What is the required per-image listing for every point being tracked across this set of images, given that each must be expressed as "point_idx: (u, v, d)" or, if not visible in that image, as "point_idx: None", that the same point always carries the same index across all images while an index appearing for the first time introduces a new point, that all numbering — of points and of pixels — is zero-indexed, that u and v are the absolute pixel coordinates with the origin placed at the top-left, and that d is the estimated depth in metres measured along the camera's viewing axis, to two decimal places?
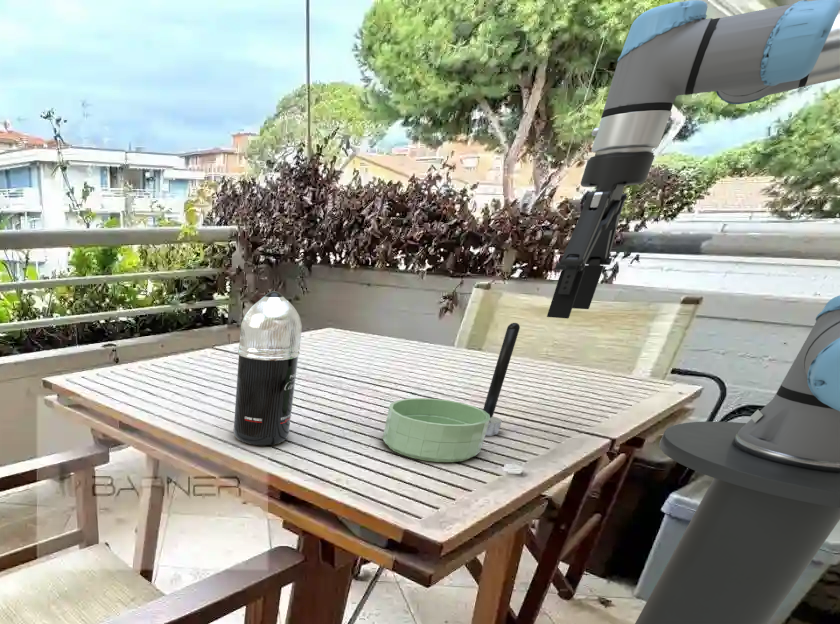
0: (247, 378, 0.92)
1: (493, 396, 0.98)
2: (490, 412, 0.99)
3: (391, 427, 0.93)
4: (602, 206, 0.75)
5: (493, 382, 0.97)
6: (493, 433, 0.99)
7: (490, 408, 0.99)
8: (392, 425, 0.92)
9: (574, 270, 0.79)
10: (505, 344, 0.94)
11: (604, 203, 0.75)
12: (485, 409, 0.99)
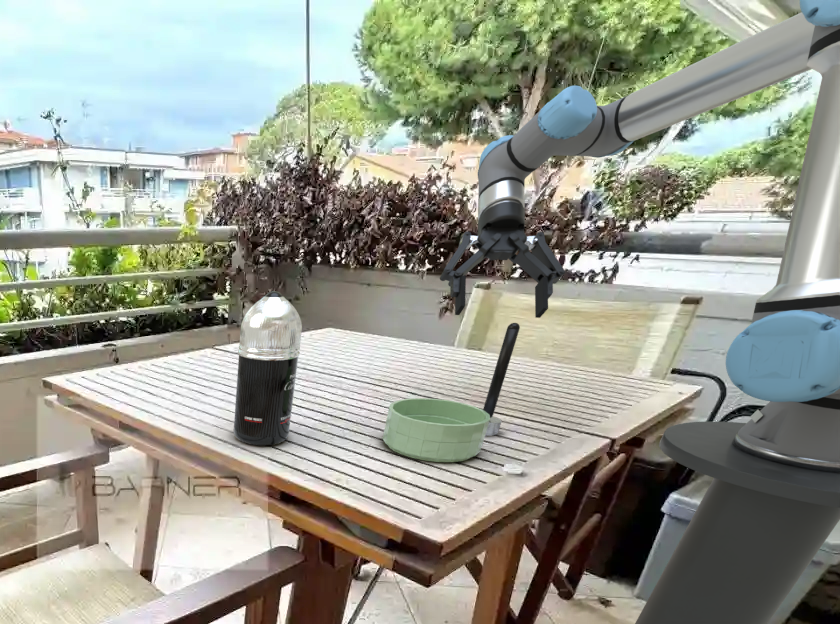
0: (247, 378, 0.92)
1: (493, 396, 0.98)
2: (490, 412, 0.99)
3: (391, 427, 0.93)
4: (462, 240, 1.04)
5: (493, 382, 0.97)
6: (493, 433, 0.99)
7: (490, 408, 0.99)
8: (392, 425, 0.92)
9: (452, 278, 1.03)
10: (505, 344, 0.94)
11: (463, 238, 1.04)
12: (485, 409, 0.99)
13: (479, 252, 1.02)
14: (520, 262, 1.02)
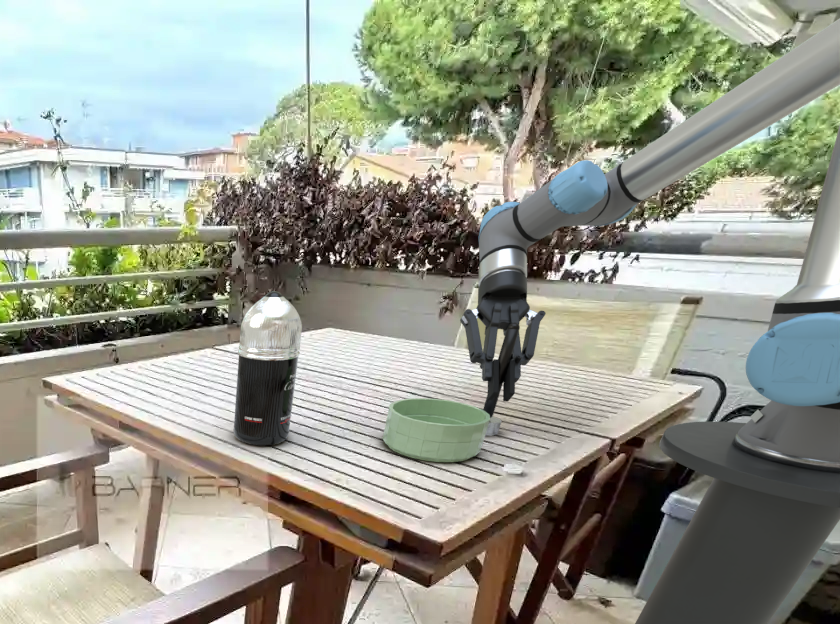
0: (247, 378, 0.92)
1: None
2: (490, 412, 0.99)
3: (391, 427, 0.93)
4: (468, 319, 0.99)
5: None
6: (493, 433, 0.99)
7: (490, 408, 0.99)
8: (392, 425, 0.92)
9: (483, 361, 0.97)
10: (505, 344, 0.94)
11: (467, 317, 0.99)
12: (485, 409, 0.99)
13: (493, 328, 0.97)
14: None
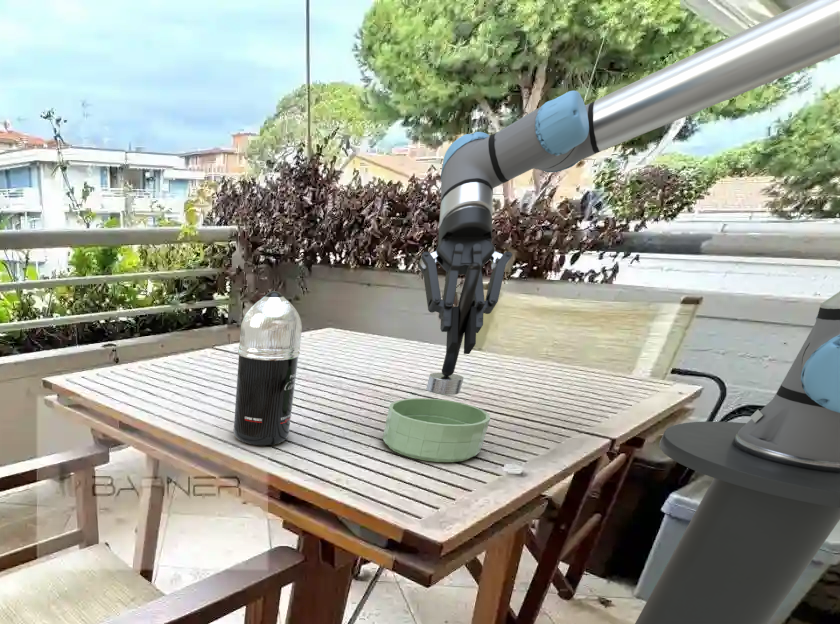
0: (247, 378, 0.92)
1: None
2: (451, 368, 0.88)
3: (391, 427, 0.93)
4: (426, 263, 0.87)
5: None
6: (454, 392, 0.88)
7: (450, 363, 0.87)
8: (392, 425, 0.92)
9: (442, 309, 0.85)
10: (465, 288, 0.82)
11: (425, 260, 0.87)
12: (445, 365, 0.88)
13: (453, 271, 0.86)
14: None
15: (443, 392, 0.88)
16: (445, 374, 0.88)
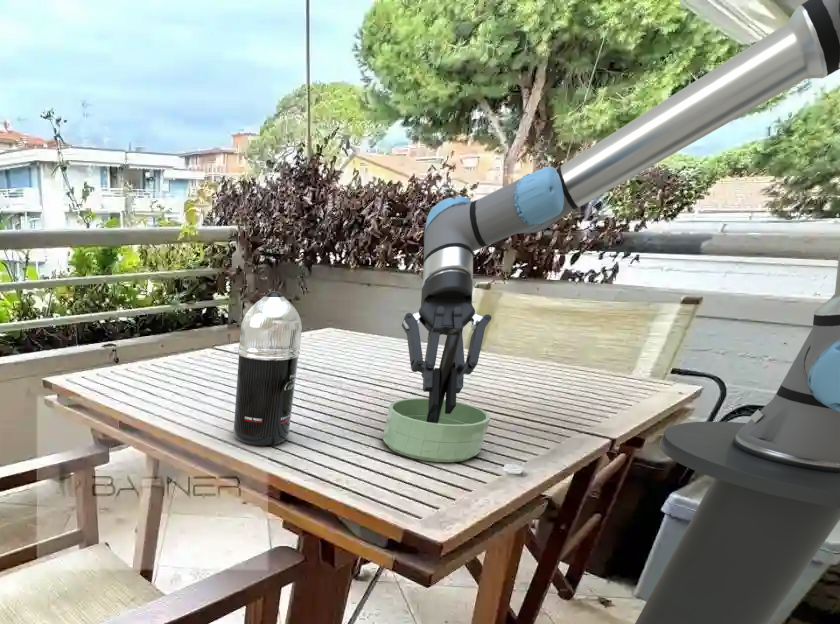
0: (247, 378, 0.92)
1: None
2: None
3: (391, 427, 0.93)
4: (408, 324, 0.91)
5: None
6: None
7: (433, 421, 0.91)
8: (392, 425, 0.92)
9: (424, 370, 0.88)
10: (445, 352, 0.86)
11: (408, 322, 0.91)
12: None
13: (434, 333, 0.89)
14: None
15: None
16: None
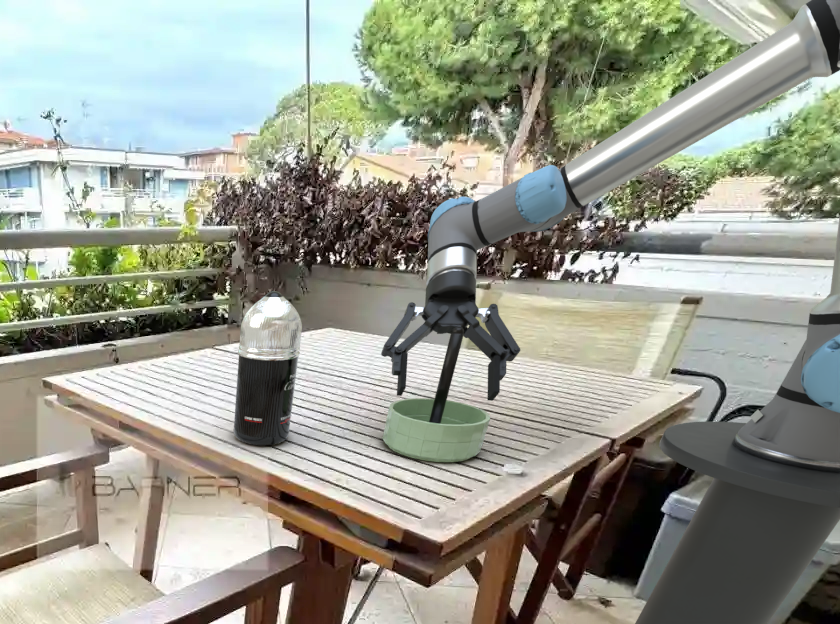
0: (247, 378, 0.92)
1: (439, 405, 0.91)
2: (437, 422, 0.92)
3: (391, 427, 0.93)
4: (406, 312, 0.93)
5: (438, 390, 0.90)
6: None
7: (436, 418, 0.92)
8: (392, 425, 0.92)
9: (393, 354, 0.91)
10: (449, 350, 0.87)
11: (407, 310, 0.93)
12: (431, 419, 0.92)
13: (424, 326, 0.91)
14: (471, 336, 0.91)
15: None
16: None
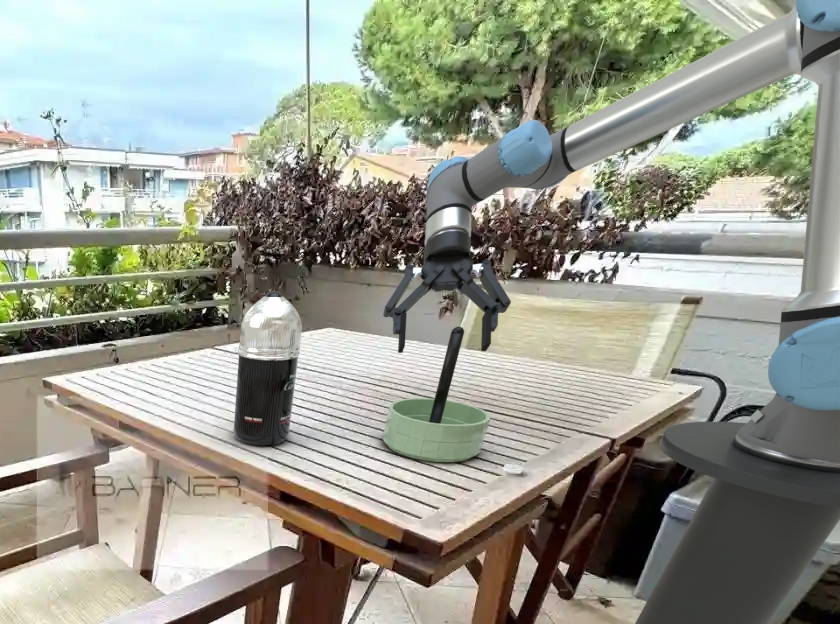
0: (247, 378, 0.92)
1: (439, 405, 0.91)
2: (437, 422, 0.92)
3: (391, 427, 0.93)
4: (405, 274, 1.01)
5: (438, 390, 0.90)
6: None
7: (436, 418, 0.92)
8: (392, 425, 0.92)
9: (393, 315, 1.01)
10: (449, 350, 0.87)
11: (406, 271, 1.01)
12: (431, 419, 0.92)
13: (421, 286, 1.00)
14: (466, 292, 0.99)
15: None
16: None
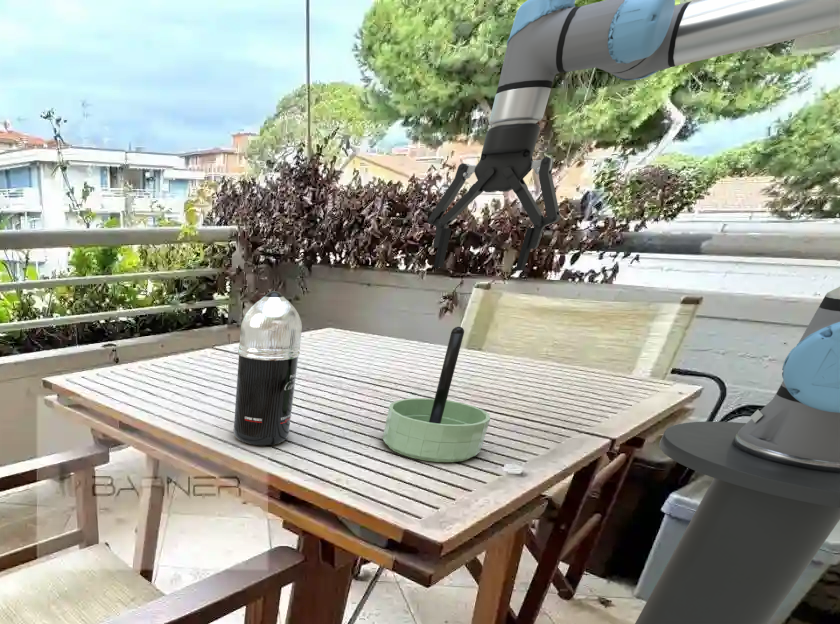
0: (247, 378, 0.92)
1: (439, 405, 0.91)
2: (437, 422, 0.92)
3: (391, 427, 0.93)
4: (455, 176, 0.96)
5: (438, 390, 0.90)
6: None
7: (436, 418, 0.92)
8: (392, 425, 0.92)
9: None
10: (449, 350, 0.87)
11: (456, 173, 0.96)
12: (431, 419, 0.92)
13: (468, 194, 0.95)
14: None
15: None
16: None
